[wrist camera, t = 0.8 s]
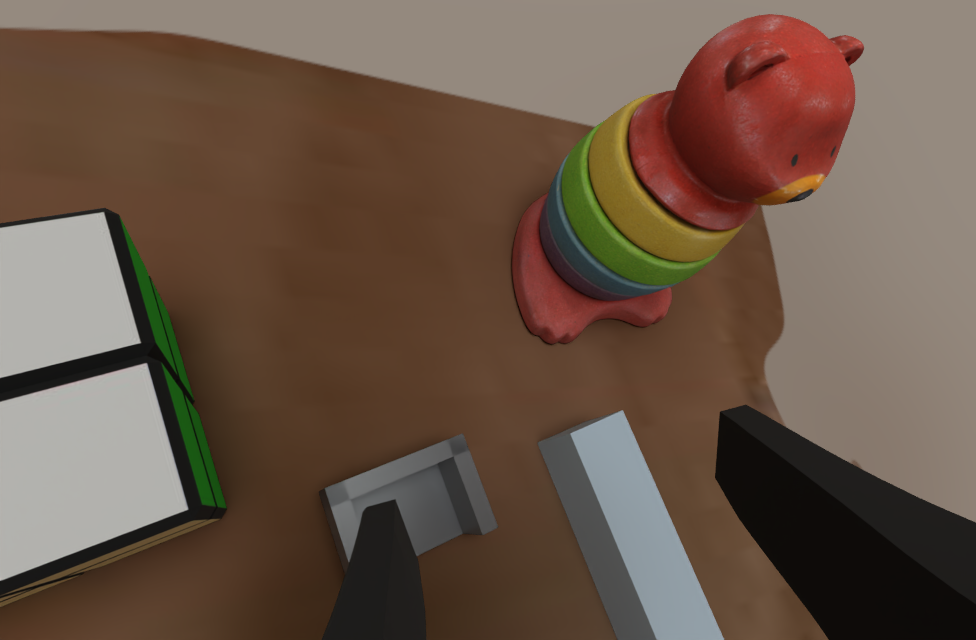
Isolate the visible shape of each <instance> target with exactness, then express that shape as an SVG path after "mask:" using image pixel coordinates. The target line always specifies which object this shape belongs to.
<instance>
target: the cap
mask: <svg viewBox="0 0 976 640" xmlns="http://www.w3.org/2000/svg"><path fill="white" fill-rule="evenodd" d="M319 495H320V498H321V501H322V504H323V508H324V511H325V514H326V517H327V520H328V523H329V526H330V529H331V533H332V536H333V539H334V542H335V545H336V548H337V551H338V554H339V558H340V561H341V564H342V567H343V570H344V573H345V574H346V571H347V568H348V565H349V561H350V558H351V555H352V551H353V548H354V544H355V541H356V537H357V533H358V529H359V526H360V521H361V517H362V512H363V511H364V510H365V508H366V507H368V506H372V505H375V504H379V503H383V502H387V501H390V500H394V499H396V502H397V505H398V508H399V510H400V513H401V516H402V518H403V521H404V524H405V527H406V529H407V532H408V535H409V537H410V540H411V543H412V546H413V548H414V551H415V554H416V556H418V555H420V554H422V553H424V552H426V551H428V550H430V549H432V548H434V547H436V546H438V545H440V544H442V543H445V542H447V541H449V540H451V539H453V538H455V537H457V536H459V535H461V534H475V535H484V534H486V533H488V532H490V531H492V530H494V529H496V528H498V525H497V523H496V520H495V517H494V515H493V512H492V509H491V507H490V504H489V501H488V499H487V496H486V494H485V491H484V488H483V486H482V483H481V480H480V478H479V475H478V472H477V470H476V467H475V464H474V462H473V459H472V457H471V454H470V451H469V449H468V446H467V443H466V441H465V438H464V435H463V434H460V435H458V436H455V437H453V438H450V439H448V440H445V441H443V442H440V443H438V444H435V445H433V446H430V447H428V448H425V449H423V450H420V451H417V452H415V453H412V454H410V455H407V456H405V457H402V458H400V459H397V460H395V461H392V462H390V463H387V464H385V465H382V466H380V467H377V468H375V469H372V470H370V471H367V472H365V473H362V474H360V475H357V476H355V477H352V478H350V479H347V480H344V481H342V482H339V483H337V484H334V485H332V486H329V487H327V488H324V489H323V490H321V491H319Z"/></svg>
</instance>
